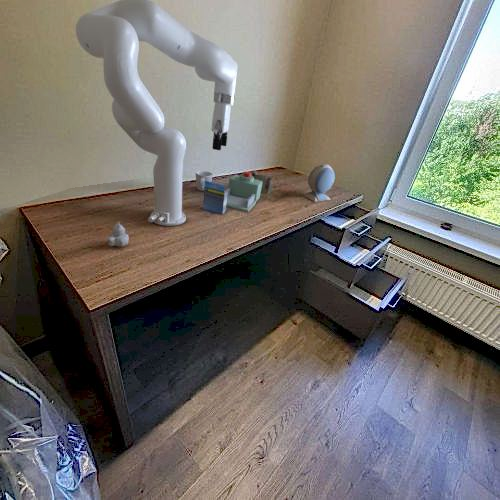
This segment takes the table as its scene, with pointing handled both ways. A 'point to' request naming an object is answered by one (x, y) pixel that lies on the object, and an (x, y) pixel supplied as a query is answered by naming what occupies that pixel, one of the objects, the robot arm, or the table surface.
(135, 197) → the table surface
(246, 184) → the red push button box
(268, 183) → the architectural model on board
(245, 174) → the button
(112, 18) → the robot arm
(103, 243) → the table surface
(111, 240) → the grey lumpy cone shape
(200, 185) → the cup
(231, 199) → the drip tray
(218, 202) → the label tape box
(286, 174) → the table surface
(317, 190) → the alarm clock
